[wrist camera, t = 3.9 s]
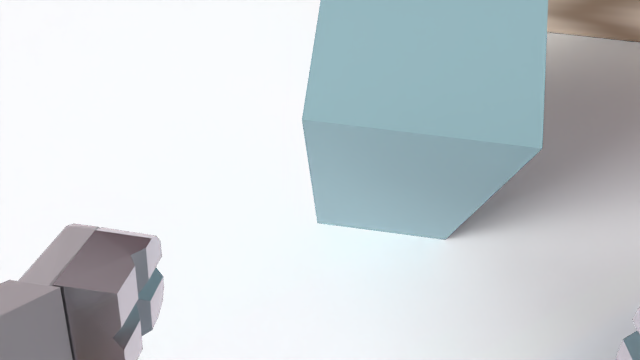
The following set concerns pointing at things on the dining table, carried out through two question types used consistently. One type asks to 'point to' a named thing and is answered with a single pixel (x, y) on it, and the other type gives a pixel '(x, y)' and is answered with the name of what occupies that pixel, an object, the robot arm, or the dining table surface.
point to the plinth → (595, 18)
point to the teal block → (421, 109)
